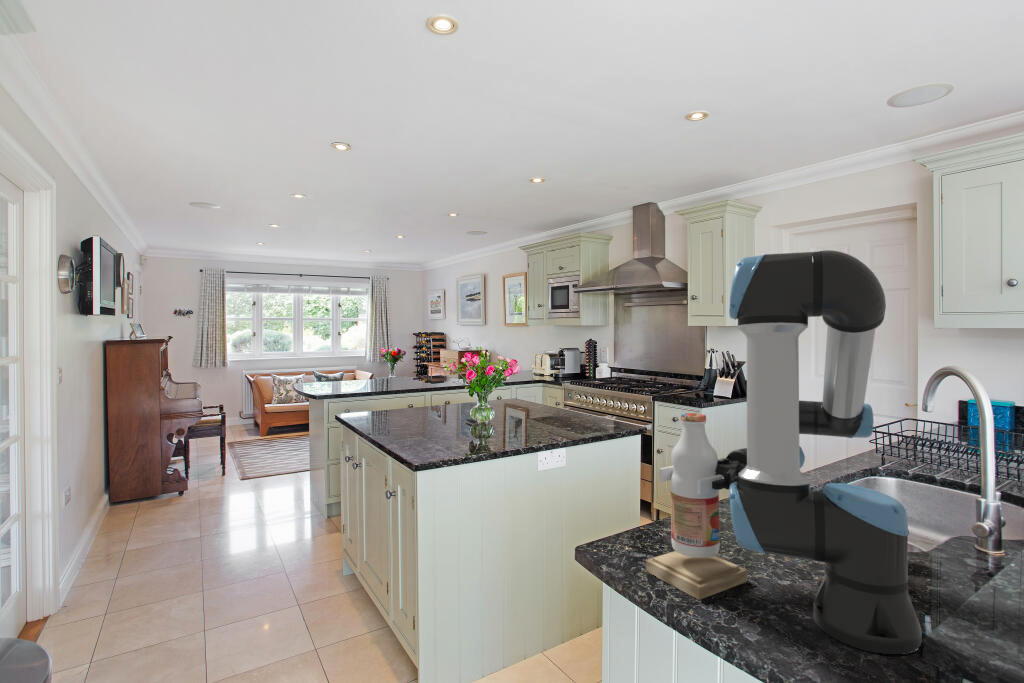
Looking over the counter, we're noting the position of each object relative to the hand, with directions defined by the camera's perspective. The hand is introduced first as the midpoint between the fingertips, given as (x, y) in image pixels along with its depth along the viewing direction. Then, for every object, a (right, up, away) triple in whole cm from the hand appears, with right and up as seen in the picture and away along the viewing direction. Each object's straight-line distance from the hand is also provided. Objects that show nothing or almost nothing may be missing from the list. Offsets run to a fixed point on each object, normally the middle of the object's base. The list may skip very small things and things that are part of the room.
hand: (678, 480), depth 106 cm
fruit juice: (+4, -15, +3) cm, 16 cm away
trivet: (+4, -20, +2) cm, 21 cm away
